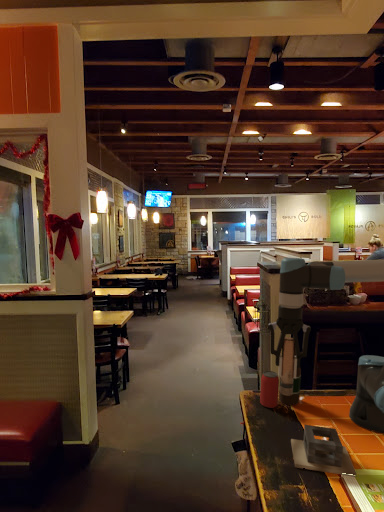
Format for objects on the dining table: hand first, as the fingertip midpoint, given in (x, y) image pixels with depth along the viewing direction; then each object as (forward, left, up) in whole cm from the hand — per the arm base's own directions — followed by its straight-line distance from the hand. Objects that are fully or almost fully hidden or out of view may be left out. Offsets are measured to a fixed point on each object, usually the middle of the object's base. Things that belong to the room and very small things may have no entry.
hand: (287, 375), depth 114 cm
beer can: (+4, -17, -19) cm, 26 cm away
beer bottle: (-4, -22, -19) cm, 29 cm away
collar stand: (-10, +12, -19) cm, 24 cm away
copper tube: (0, 0, -6) cm, 6 cm away
